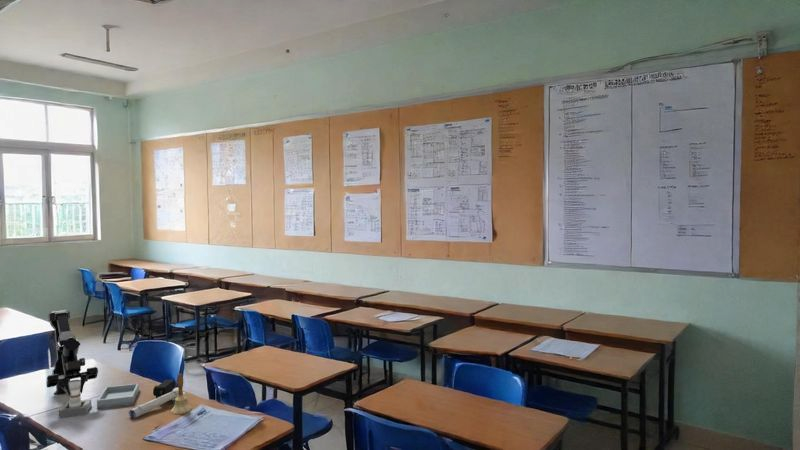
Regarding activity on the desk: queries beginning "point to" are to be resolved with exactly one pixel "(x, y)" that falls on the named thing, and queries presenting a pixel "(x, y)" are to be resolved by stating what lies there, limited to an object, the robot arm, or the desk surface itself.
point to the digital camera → (164, 388)
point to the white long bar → (154, 403)
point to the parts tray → (118, 395)
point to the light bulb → (75, 393)
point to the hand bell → (180, 399)
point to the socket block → (74, 409)
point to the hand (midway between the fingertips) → (75, 394)
